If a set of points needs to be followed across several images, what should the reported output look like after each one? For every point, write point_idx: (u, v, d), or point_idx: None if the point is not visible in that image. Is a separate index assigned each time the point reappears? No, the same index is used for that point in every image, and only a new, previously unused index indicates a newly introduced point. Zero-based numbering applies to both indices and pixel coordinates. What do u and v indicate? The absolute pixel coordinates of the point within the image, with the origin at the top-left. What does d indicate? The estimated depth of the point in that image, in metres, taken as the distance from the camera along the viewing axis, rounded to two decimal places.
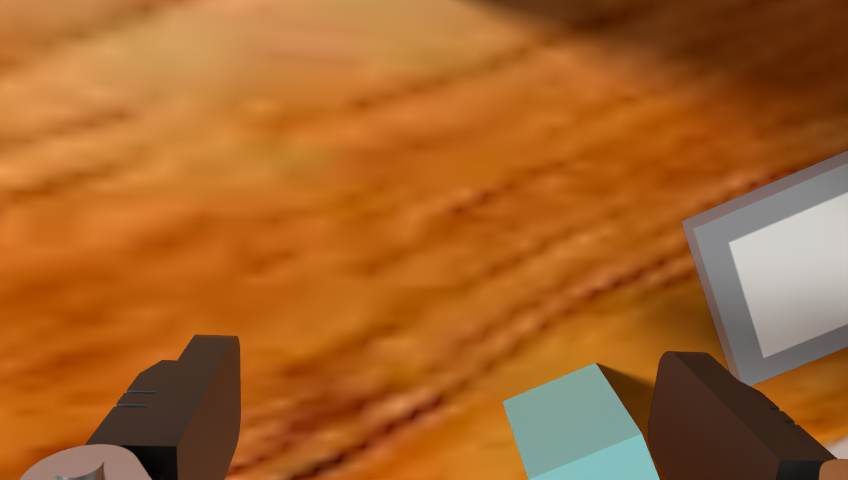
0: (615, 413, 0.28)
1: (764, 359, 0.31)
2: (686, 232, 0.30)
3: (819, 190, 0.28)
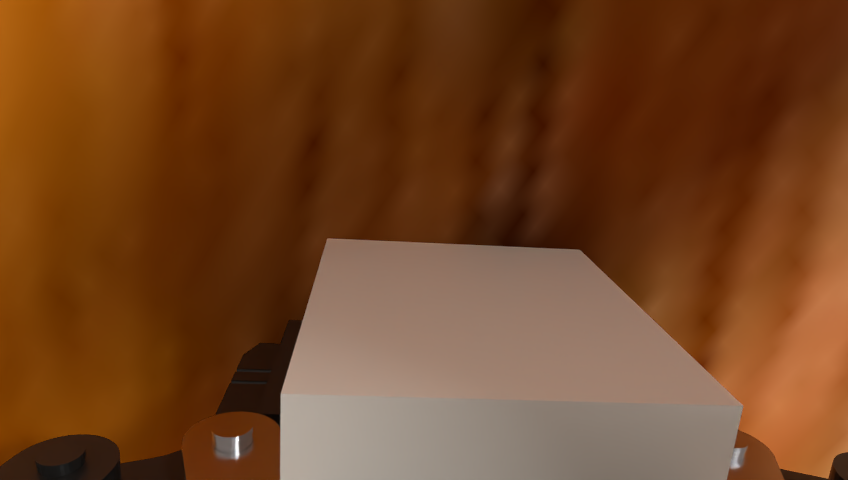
0: None
1: None
2: None
3: None
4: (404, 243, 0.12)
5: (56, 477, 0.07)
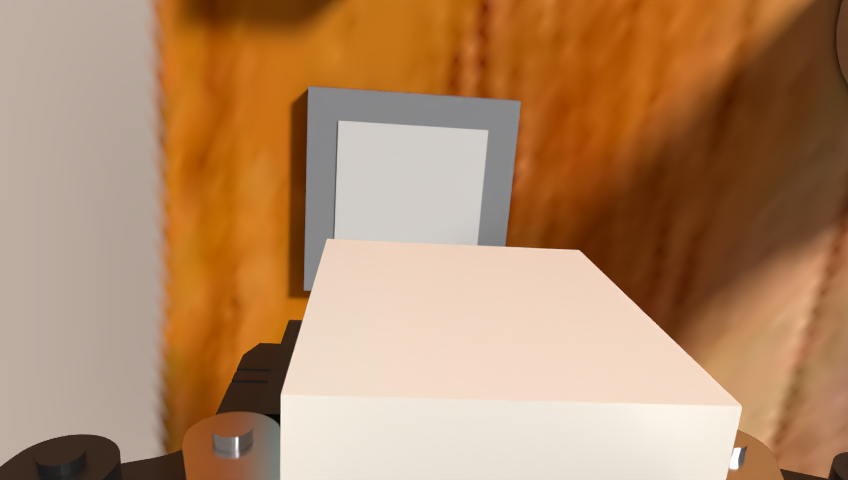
0: None
1: (333, 122, 0.27)
2: (504, 99, 0.28)
3: (491, 230, 0.29)
4: (404, 243, 0.12)
5: (57, 476, 0.07)
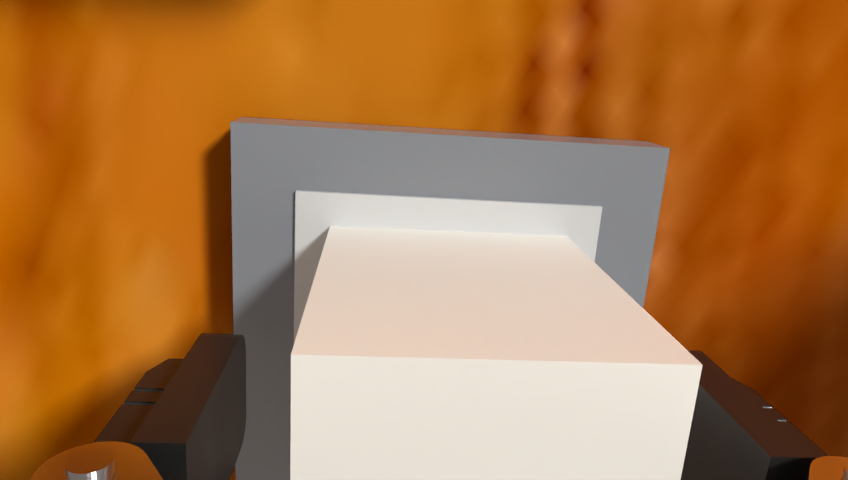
0: None
1: (286, 193, 0.13)
2: (628, 141, 0.14)
3: None
4: (402, 230, 0.13)
5: None
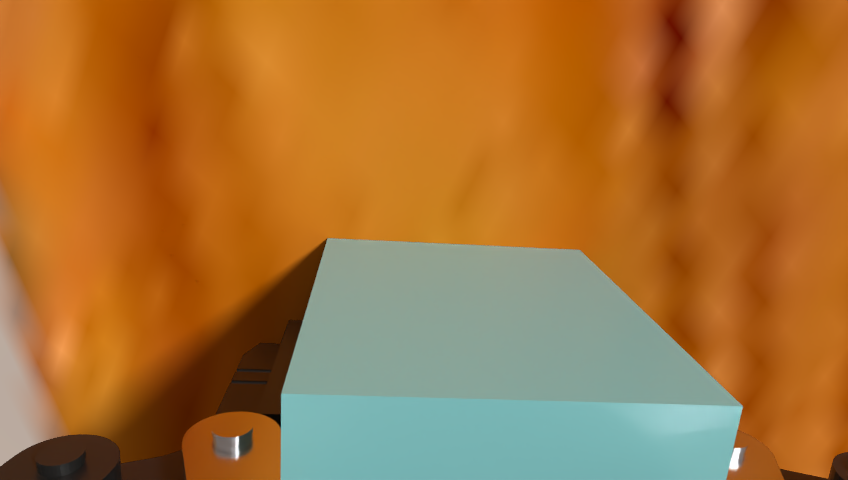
0: None
1: None
2: None
3: None
4: None
5: (56, 477, 0.07)
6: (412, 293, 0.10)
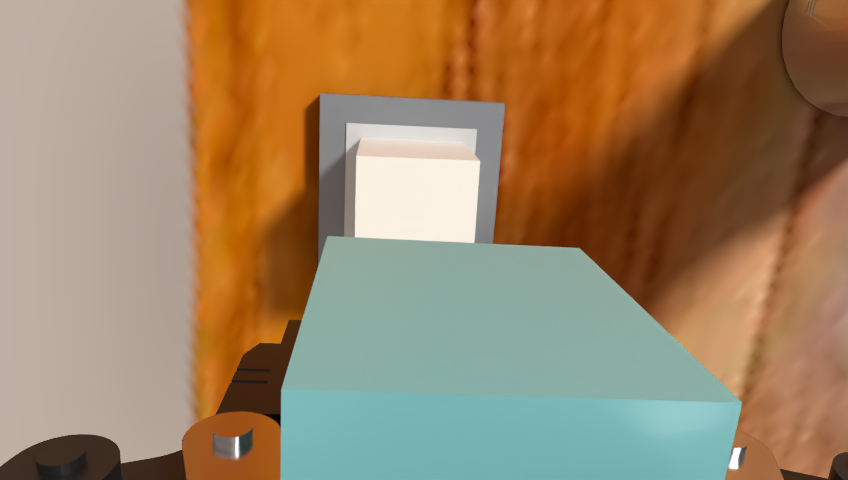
0: None
1: (342, 124, 0.31)
2: None
3: (481, 216, 0.33)
4: (391, 139, 0.31)
5: (57, 476, 0.07)
6: (411, 289, 0.10)
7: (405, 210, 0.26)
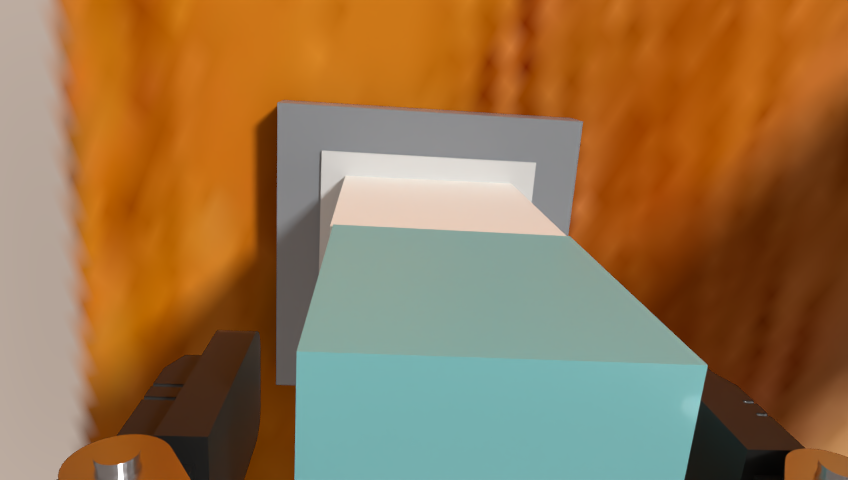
0: None
1: (315, 152, 0.19)
2: (557, 117, 0.20)
3: None
4: (395, 178, 0.19)
5: None
6: (411, 271, 0.11)
7: None
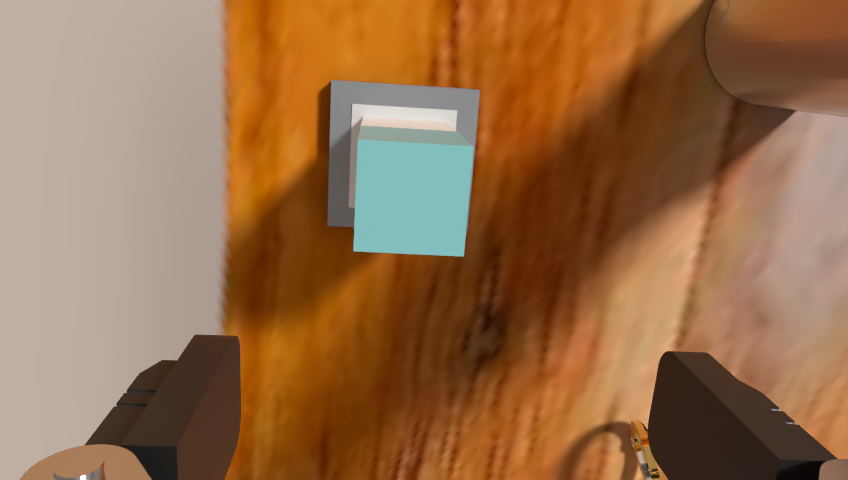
0: None
1: (348, 104, 0.39)
2: None
3: None
4: None
5: None
6: (391, 133, 0.30)
7: None
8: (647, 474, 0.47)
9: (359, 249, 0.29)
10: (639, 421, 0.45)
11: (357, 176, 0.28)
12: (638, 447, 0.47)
